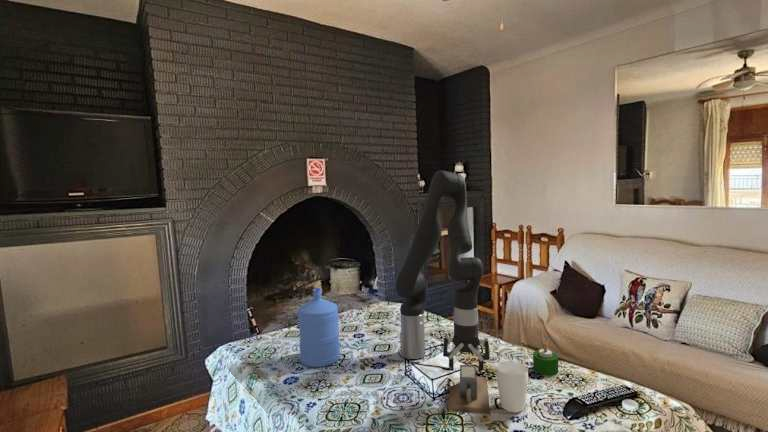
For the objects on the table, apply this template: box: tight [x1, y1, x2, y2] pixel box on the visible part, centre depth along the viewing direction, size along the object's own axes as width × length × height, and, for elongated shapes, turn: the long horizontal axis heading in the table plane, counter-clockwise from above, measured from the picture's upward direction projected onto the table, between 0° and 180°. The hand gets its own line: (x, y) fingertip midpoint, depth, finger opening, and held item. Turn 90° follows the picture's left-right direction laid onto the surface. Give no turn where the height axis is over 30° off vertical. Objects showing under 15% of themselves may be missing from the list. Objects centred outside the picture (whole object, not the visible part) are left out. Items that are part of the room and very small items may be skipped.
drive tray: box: [447, 376, 491, 414], centre depth 123 cm, size 12×19×5 cm, turn 168°
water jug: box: [297, 287, 341, 368], centre depth 151 cm, size 16×16×28 cm
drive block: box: [459, 364, 478, 400], centre depth 123 cm, size 5×10×6 cm, turn 169°
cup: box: [496, 360, 529, 414], centre depth 115 cm, size 9×9×12 cm
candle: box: [532, 342, 559, 377], centre depth 137 cm, size 8×8×10 cm
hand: (466, 370), depth 122 cm, fingers open, 8 cm apart
